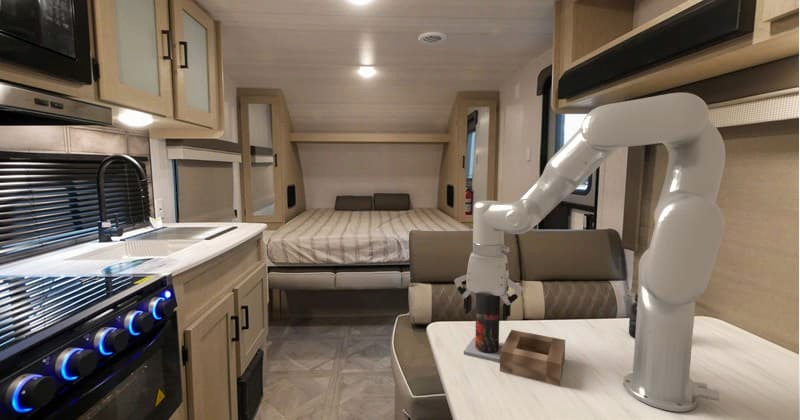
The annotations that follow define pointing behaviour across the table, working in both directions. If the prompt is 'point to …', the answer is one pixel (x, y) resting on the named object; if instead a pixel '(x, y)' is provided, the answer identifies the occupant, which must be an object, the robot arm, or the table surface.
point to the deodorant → (487, 323)
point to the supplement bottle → (633, 317)
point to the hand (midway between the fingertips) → (486, 315)
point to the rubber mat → (474, 352)
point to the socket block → (533, 357)
